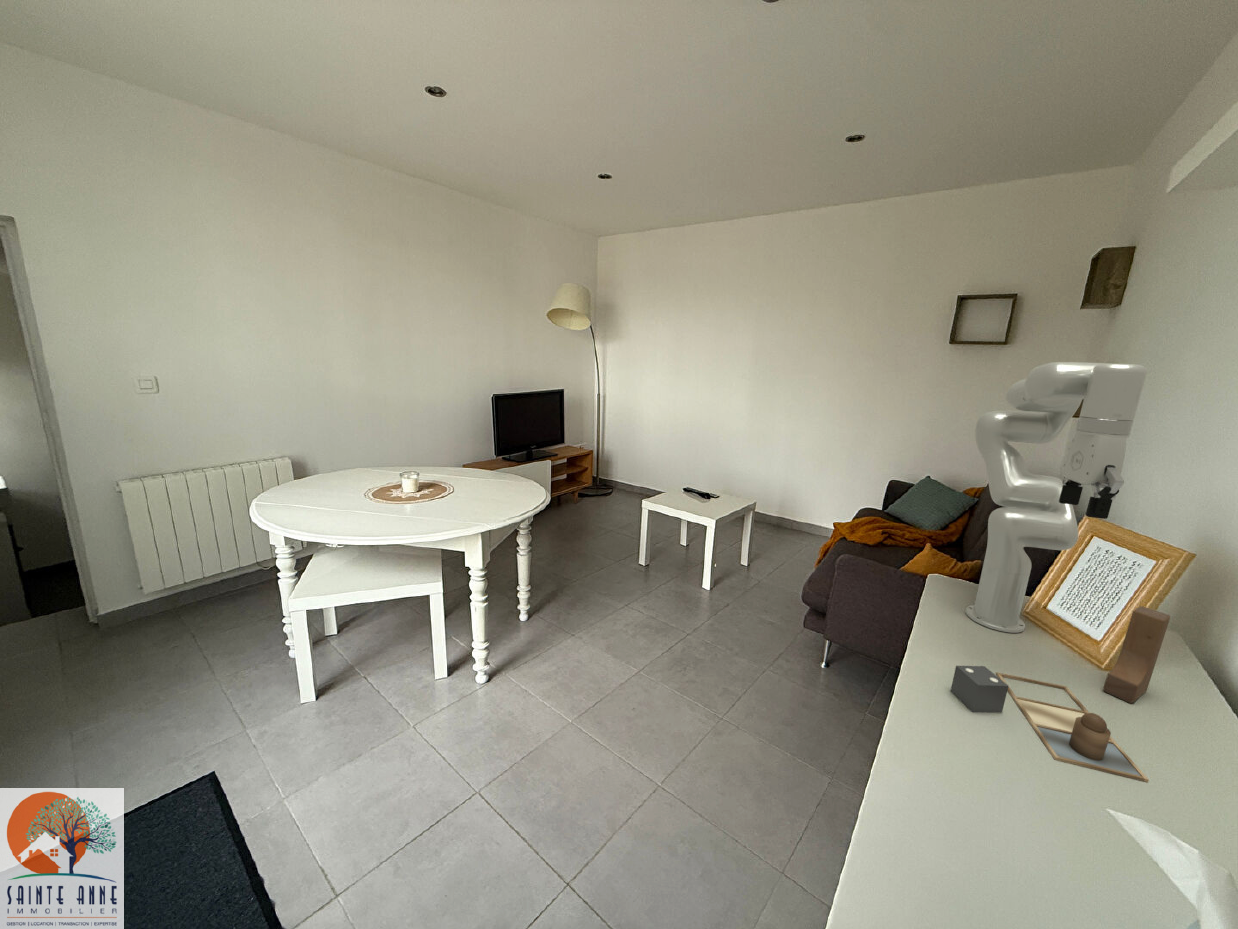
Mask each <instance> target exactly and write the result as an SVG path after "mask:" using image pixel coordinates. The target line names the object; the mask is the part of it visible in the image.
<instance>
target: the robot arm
mask: <svg viewBox="0 0 1238 929" xmlns="http://www.w3.org/2000/svg"><path fill="white" fill-rule="evenodd" d="M1147 372H1148V371H1147V368H1146V367H1145V366H1143V365H1141V364H1131V363H1110V362H1108V363H1107V362H1082V361H1081V362H1080V361H1079V362H1078V361H1055V362H1054V361H1052V362H1048V363H1043V364H1042V365H1038V366H1035V367H1034V368H1033V369H1031V370H1030V371H1029V374H1027V376H1026V378H1023V379H1021V380H1018V381H1016V382H1015V383H1013V384H1012V385H1011V386H1010V387H1009V388H1008V389H1007V391H1006V396H1005V397H1006V401H1007V403H1008V405H1010V406H1011V407H1012V408H1014V409H1016V410H993V411H988V412H984V413H983V414H981V415H980V416H979V418H977V422H976V424H975V430H974V432H975V433H974V435H975V442H976V446H977V449H978V451H979V453H980V455H981V457H982V459H983V461H984V463H985V468H986V476H987V483H988V488H989V493H990V497H991V500H992V501H993V502H994V504H996V505H998V506H1001V507H999V508H996V509H994V510H992V511H991V513H990V514H989V516H988V520H987V522H988V523H987V543H986V544H987V546H986V551H985V556H984V561H983V564H982V569H981V574H980V578H979V583H978V587H977V593H976V596H975V601H974V604H972V605H971V604H970V605H968V606H967V607H966V608H965V614H966V615H967V617H968V618H970V619H971V620H972V621H973V622H976V623H977V624H980V625H981V626H984V627H986V628H989V629H992V630H995V631H999V632H1003V633H1010V634H1013V633H1014V634H1015V633H1016V634H1019V633H1022V632H1024V631H1025V629H1026V624H1025V622H1024V621H1023V620H1022V619H1021V618H1020V616H1021V611H1022V607H1023V603H1024V599H1025V595H1026V591H1027V587H1028V583H1029V580H1030V575H1031V570H1032V560H1031V558H1030V557H1029V556H1028V554H1027V553H1026V551H1025V549H1024V548H1025V547H1026V548H1027V547H1028V548H1038V549H1046V550H1054V551H1065V550H1070V549H1072V548H1073V547H1075V545H1076V544H1077V542H1078V539H1079V527H1078V522H1077V519H1076V518H1077V517H1076V514H1075V509H1074V506H1078V505H1079V504H1080V500H1081V496H1082V492H1083V490H1084V489H1083V488H1084V487H1083V486H1089V485H1090V486H1091V490H1092V496H1090V497H1089V500H1088V504H1087V507H1086V512H1085V516H1086V517H1087V518H1095V519H1104V520H1105V519H1108V518H1109V515H1110V510H1111V507H1112V504H1113V501H1114V500H1115V499H1116V495H1118V494H1119V492H1120V490H1121V489H1122V486H1123V485H1124V484H1125V480H1124V479H1123V477H1122V476H1121V474H1122V470H1123V466H1124V462H1125V461H1124V460H1125V455H1126V448H1127V441H1128V440H1127V439H1128V438H1130V435H1131V431H1132V428H1133V425H1134V420H1135V417H1136V414H1137V410H1138V406H1139V404H1140V399H1141V396H1142V391H1143V388H1144V385H1145V381H1146V377H1147ZM1082 401H1083V402H1082ZM1081 403H1082V406H1081ZM1080 406H1081V409H1080V412H1079V413H1080V414H1079V417H1078V422H1077V425H1076V429H1075V432H1074V435H1073V437H1072V440H1071V441H1070V445H1069V446H1068V450H1067V452H1066V456H1065V459H1064V462H1063V465H1062V469H1061V475H1062V476H1063V480H1062V479H1061V478H1058V477H1055V476H1052V475H1043V474H1035V473H1030V472H1029V471H1028V469H1027V465H1026V460H1025V459H1024V456H1023V455H1022V454H1021V452H1019V451H1018V449H1016V447H1013V446H1012V445H1011V444H1010V443H1008V442H1011V443H1012V442H1013V443H1024V444H1037V445H1039V444H1042V445H1043V444H1044V445H1045V444H1049V443H1051V442H1053V441H1054V440H1055V439H1056V438H1057V437H1058V436H1059V434H1061V432H1062V431H1063V430H1064V429H1065V427H1066V425H1068V423H1069V421H1070V420H1071V419H1072V418H1073V416H1074V415H1075V413H1076V412H1077V410H1078V409H1079V407H1080ZM1081 485H1083V486H1081ZM1073 505H1074V506H1073Z"/></svg>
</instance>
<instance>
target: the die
mask: <svg viewBox="0 0 1238 929" xmlns="http://www.w3.org/2000/svg"><path fill="white" fill-rule="evenodd" d="M1006 683H1007V682H1006ZM1006 683H1004V682H1003V681H1002V680H1001V679H1000V678H998V676H997V675H996V673H993V672H992V671H991V670H990V669H989V668H988V667H986V666H985V665H984V666H983V665H955V668H954V674H953V678H952V683H951V688H950V692H951V693H952V694H953V695H954V696H955V697H956V698H957V699H958V700H959V701H960V702H962V704H963V705H964V706H965V707H966V708H967V709H968V710H969V711H970V712H972V713H1003V711H1004V710H1003V709H1004V705H1005V703H1006V702H1005V701H1006V699H1007V693H1008V691H1007V690H1008V686H1009V684H1008V683H1007V684H1006Z"/></svg>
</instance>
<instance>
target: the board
mask: <svg viewBox="0 0 1238 929" xmlns="http://www.w3.org/2000/svg"><path fill="white" fill-rule="evenodd" d="M995 675H996V676H997V677H998V678H1000V679H1001V680H1002V681H1003V682H1004V683H1006V684H1007V685H1008V683H1007V682H1006V680H1005V679H1004V678H1007V679H1012V680H1016V681H1022V682H1027V683H1031V684H1037V685H1042V686H1045V687H1051V688H1056V689H1061V690H1064V691H1065V692H1066V693H1067V694H1068V696H1069V697H1070V698H1071V699H1072V700H1073V701H1074V703H1075V704H1076V705H1077V706H1078V708H1080V709H1077V708H1073V707H1067V706H1064V705H1063V706H1062V705H1058V704H1054V703H1050V702H1049V703H1048V702H1044V701H1041V700H1035V699H1030V698H1024V697H1021V696H1016V695H1015V694H1014V692H1013V690H1012V689H1011V687H1010V686H1009V685H1008V690H1007V693H1009V695H1010V696H1011V698H1012V700H1013V701H1014V702H1015V704H1016V706H1017V707H1018V708H1019V710H1020V711H1021V713H1022V714H1023V716H1024V717H1025V718H1026V720H1027V722H1028V723H1029V724H1030V726H1031V727H1032V729H1033V730H1034V731H1035V733H1036V735H1037V736H1038V737H1039V739H1040V740H1041V742H1042V743H1043V745H1044V746H1045V747H1046V749H1047V750H1048V752H1049V753H1050V755H1051V757H1052V758H1053V759H1054V760H1055V761H1059V762H1063V763H1067V764H1071V765H1076V766H1080V767H1082V768H1083V767H1084V768H1088V769H1092V770H1096V771H1100V772H1104V773H1108V774H1112V775H1116V776H1120V777H1125V778H1128V779H1133V780H1137V781H1141V782H1145V783H1149V781H1150V780H1149V778H1148V777H1147V776H1146V775H1145V774H1144V773H1143V771H1142V770H1141V769H1140V768H1139V767H1138V766H1137V765H1136V763H1134V761H1133V759H1131V758H1130V757H1129V756H1128V754H1126V752H1125V751H1124V750H1123V749H1122V747H1121V746H1120V745H1119V744H1118V743H1117V742H1116V741H1115V739H1113V737H1112V736H1111V735H1110V738H1109V741H1108V744H1107V748H1106V751H1105V754H1104V758H1103V760H1100V761H1097V760H1092V759H1089V758H1086V757H1084V756H1082V755H1080V754H1078V753H1077V752H1076V751H1074V750H1073V749H1072V748H1071V747H1070V745H1069V741H1070V737H1071V734H1072V730H1073V727H1074V723H1075V720H1076V718H1077V717H1082V716H1083V715H1084V714H1086V713H1090V712H1089V710H1088V709H1087V708H1086V707H1085V706H1084V705H1083V703H1082V702H1081V701H1080V699H1078V698H1077V696H1075V694H1074V693H1073V692H1072V691H1071V690H1070V688H1069V687H1068V686H1066V685H1060V684H1056V683H1051V682H1046V681H1041V680H1037V679H1031V678H1026V677H1022V676H1017V675H1012V674H1007V673H1002V672H998V671H997V672H995Z"/></svg>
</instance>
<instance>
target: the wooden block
mask: <svg viewBox="0 0 1238 929" xmlns="http://www.w3.org/2000/svg"><path fill="white" fill-rule="evenodd" d="M1170 619H1171V616H1170V615H1169V614H1167V613H1163V612H1160V611H1158V610H1154V609H1152V608H1148V607H1145V606H1143V605H1142V606H1141V605H1140V606H1138V607H1137V608H1135V609H1134V610H1132V614H1131V617H1130V620H1129V623H1128V626H1127V629H1126V632H1125V637H1124V640H1123V642H1122V646H1121V649H1120V653H1119V655H1118V658H1117V659H1116V662H1115V664H1114V666H1113V668H1112V669H1110V671H1109V672H1108V673H1107V675H1106V679H1105V682H1104V686H1103V689H1102V690H1103V692H1105V693H1107V694H1109V695H1111V696H1113V697H1116V698H1118V699H1120V700H1122V701H1124V702H1127V703H1129V704H1133V703H1135V701H1137V700H1138V699H1139V698H1140V697H1141V696H1143V695H1144V694H1145V693H1146V692H1147V691H1148V689H1149V688H1148V687H1149V685H1150V682H1151V679H1152V675H1153V672H1154V669H1155V666H1156V664H1157V663H1156V662H1157V660H1158V657H1159V653H1160V651H1161V647H1162V644H1163V642H1164V639H1165V635H1166V632H1167V628H1168V626H1169V623H1170Z"/></svg>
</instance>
